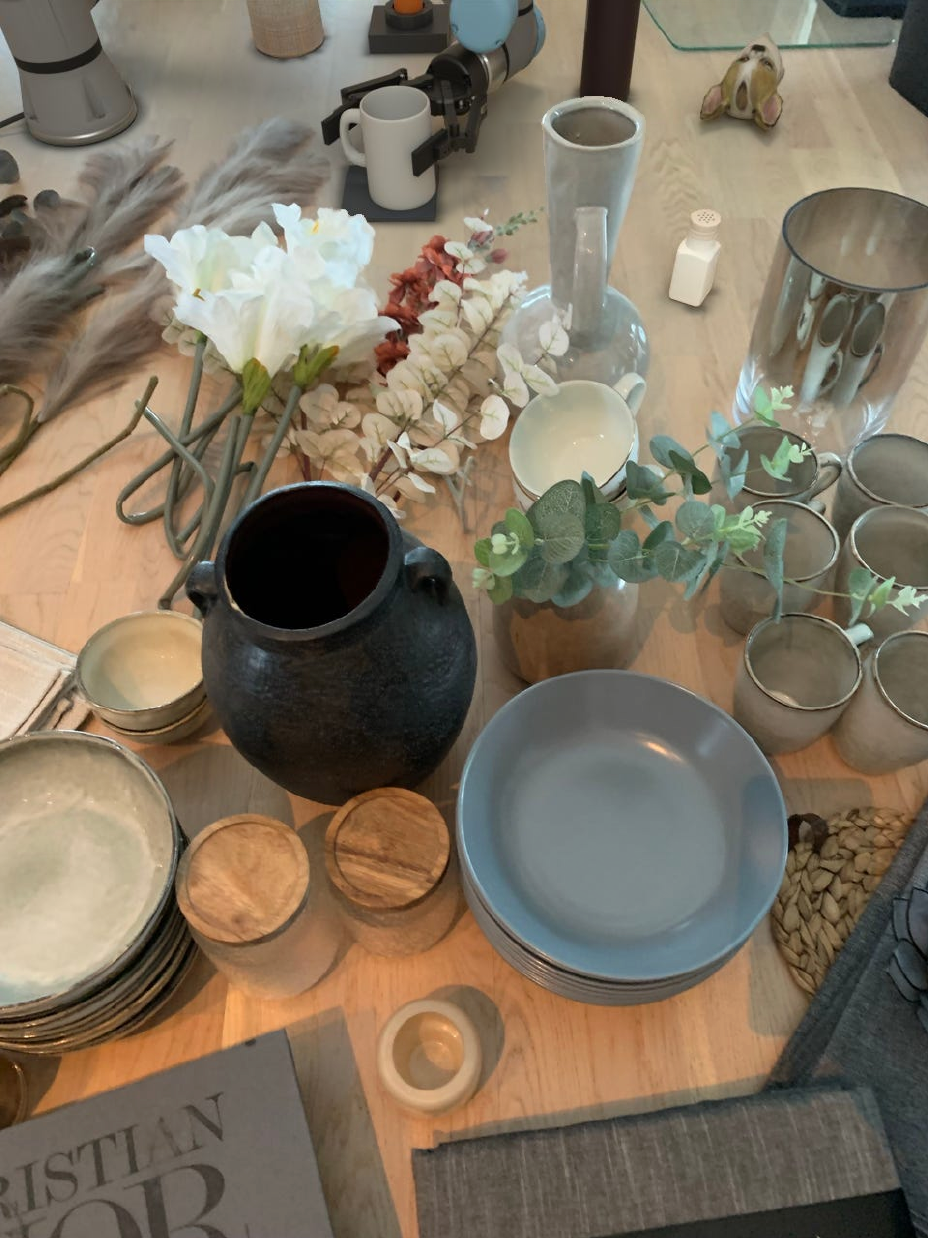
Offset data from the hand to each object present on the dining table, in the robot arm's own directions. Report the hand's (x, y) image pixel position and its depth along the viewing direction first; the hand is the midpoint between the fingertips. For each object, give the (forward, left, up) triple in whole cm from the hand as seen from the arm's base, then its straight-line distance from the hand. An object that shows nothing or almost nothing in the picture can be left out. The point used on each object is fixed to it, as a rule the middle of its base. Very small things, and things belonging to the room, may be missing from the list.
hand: (368, 149), depth 104 cm
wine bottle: (+31, +27, -8) cm, 41 cm away
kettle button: (+2, +46, -3) cm, 46 cm away
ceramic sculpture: (+50, +22, -8) cm, 55 cm away
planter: (-17, +45, -8) cm, 49 cm away
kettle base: (+2, +46, -7) cm, 46 cm away
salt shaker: (+38, -18, -8) cm, 43 cm away
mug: (+2, +3, -7) cm, 8 cm away
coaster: (+2, +3, -7) cm, 8 cm away
